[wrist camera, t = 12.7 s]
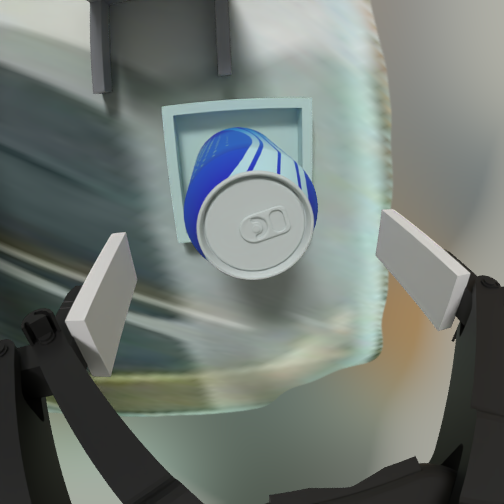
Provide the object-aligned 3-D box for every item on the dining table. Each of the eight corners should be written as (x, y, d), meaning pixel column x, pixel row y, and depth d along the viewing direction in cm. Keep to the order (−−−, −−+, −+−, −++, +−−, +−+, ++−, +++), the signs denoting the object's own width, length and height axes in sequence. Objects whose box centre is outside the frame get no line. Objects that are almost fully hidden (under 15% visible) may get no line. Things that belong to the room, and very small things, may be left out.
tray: (180, 233, 35) (178, 243, 33) (165, 105, 28) (161, 106, 26) (304, 222, 36) (310, 231, 34) (304, 97, 30) (311, 97, 27)
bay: (101, 93, 27) (46, 97, 16) (98, -2, 22) (48, -36, 11) (230, 75, 28) (239, 62, 17) (225, -22, 23) (232, -75, 12)
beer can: (260, 215, 34) (292, 306, 20) (185, 191, 32) (163, 272, 18) (290, 143, 31) (353, 187, 17) (212, 114, 29) (208, 131, 15)
